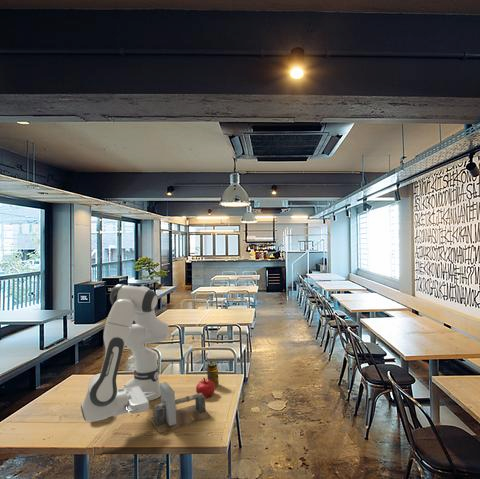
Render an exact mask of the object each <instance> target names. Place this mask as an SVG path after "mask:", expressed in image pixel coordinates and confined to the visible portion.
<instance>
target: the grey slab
mask: <svg viewBox="0 0 480 479" xmlns="http://www.w3.org/2000/svg"><path fill="white" fill-rule="evenodd" d="M159 384H160V392H161V396H160V404H162V403H166V407H165V408H163V416H164V418H165V419H166V421H167V423H168V424H169V426H171V425H174V424H176V410H177V409H176V405H175V400H176V396H175V395H176V394H175V390H173V388H172V387H171V385H169V384H168V382H167V381H164V382H159Z"/></svg>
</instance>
